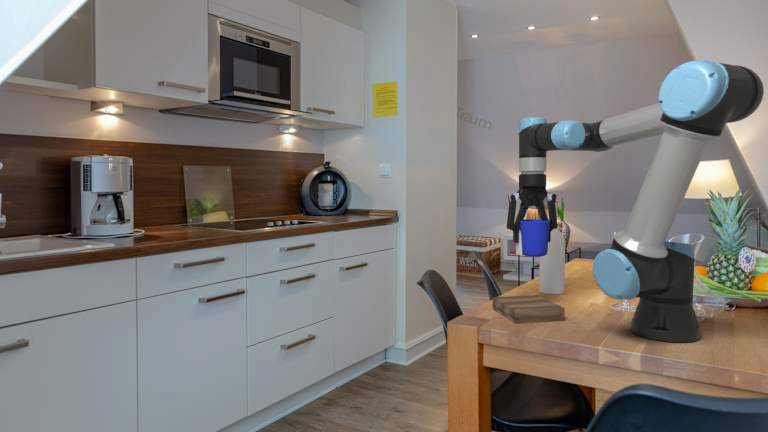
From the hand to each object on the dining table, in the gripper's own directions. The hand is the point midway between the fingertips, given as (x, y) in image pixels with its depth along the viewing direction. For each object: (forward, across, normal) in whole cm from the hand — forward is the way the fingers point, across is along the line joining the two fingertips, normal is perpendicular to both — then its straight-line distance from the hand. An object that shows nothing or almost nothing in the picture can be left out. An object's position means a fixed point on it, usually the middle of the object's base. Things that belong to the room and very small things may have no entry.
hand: (531, 253), depth 154 cm
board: (+17, +2, +2) cm, 17 cm away
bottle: (+17, -18, -24) cm, 34 cm away
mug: (0, 0, 0) cm, 1 cm away
